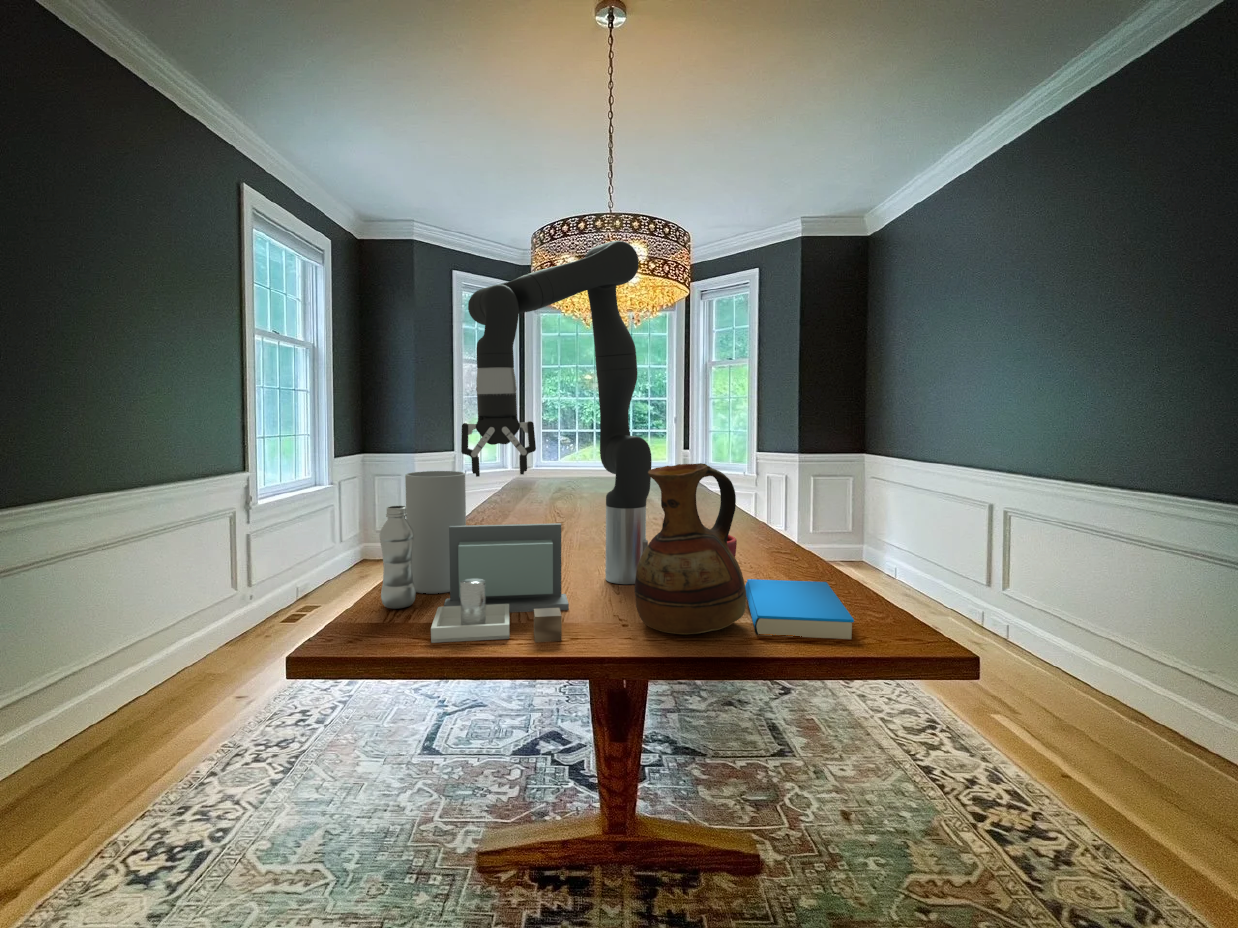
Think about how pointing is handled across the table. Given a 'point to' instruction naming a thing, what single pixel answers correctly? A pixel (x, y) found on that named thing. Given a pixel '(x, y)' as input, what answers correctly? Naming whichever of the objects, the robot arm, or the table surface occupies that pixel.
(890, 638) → the table surface
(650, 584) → the ceramic pitcher
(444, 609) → the tray
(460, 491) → the cylinder vase
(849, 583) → the table surface
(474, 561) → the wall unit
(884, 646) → the table surface
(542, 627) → the walnut block
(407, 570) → the plastic bottle
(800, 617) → the book
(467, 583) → the steel cylinder
